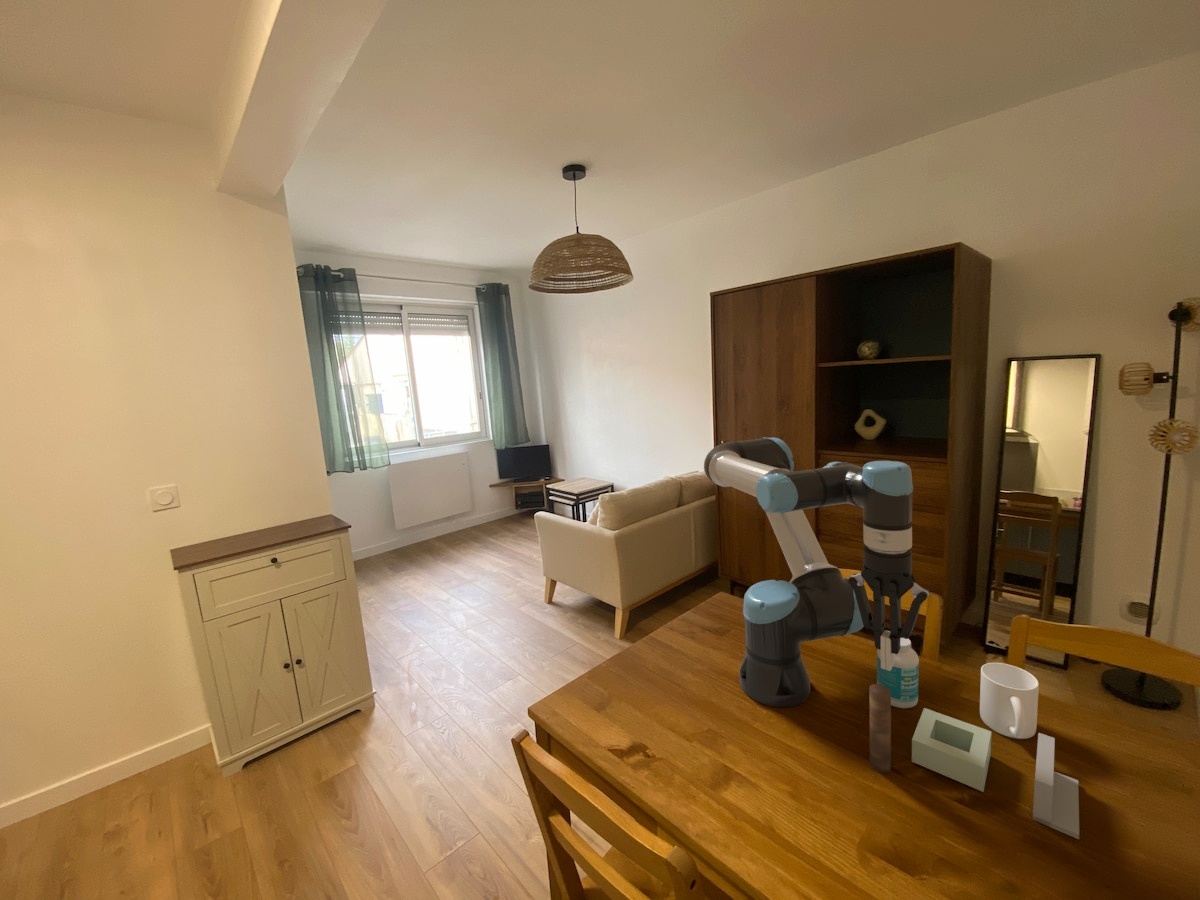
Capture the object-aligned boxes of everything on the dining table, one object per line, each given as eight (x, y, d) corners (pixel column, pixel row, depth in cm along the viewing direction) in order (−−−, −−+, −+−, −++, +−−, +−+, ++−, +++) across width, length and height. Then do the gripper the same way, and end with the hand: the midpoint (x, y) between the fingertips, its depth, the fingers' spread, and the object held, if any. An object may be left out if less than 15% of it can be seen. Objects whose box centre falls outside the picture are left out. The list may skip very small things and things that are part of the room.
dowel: (867, 767, 84) (867, 691, 82) (872, 756, 87) (872, 681, 84) (888, 776, 82) (887, 698, 80) (892, 764, 84) (892, 688, 82)
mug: (1050, 761, 82) (1053, 708, 81) (989, 747, 86) (991, 696, 85) (1028, 715, 93) (1030, 667, 91) (975, 705, 97) (976, 658, 95)
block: (911, 761, 84) (911, 739, 84) (923, 728, 91) (924, 707, 91) (983, 792, 77) (984, 767, 77) (990, 754, 84) (991, 731, 84)
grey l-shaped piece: (1032, 819, 73) (1034, 779, 72) (1036, 769, 81) (1038, 732, 80) (1079, 839, 69) (1081, 797, 68) (1077, 784, 77) (1080, 746, 76)
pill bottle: (907, 715, 95) (907, 654, 93) (870, 696, 102) (869, 638, 100) (925, 699, 99) (925, 640, 97) (888, 682, 106) (888, 626, 104)
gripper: (841, 546, 88) (843, 663, 91) (926, 561, 78) (924, 690, 82) (854, 534, 93) (855, 645, 96) (934, 546, 84) (933, 668, 87)
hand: (887, 665), depth 89 cm, fingers closed
